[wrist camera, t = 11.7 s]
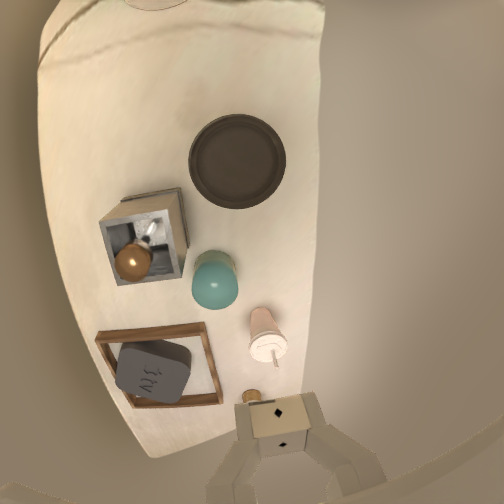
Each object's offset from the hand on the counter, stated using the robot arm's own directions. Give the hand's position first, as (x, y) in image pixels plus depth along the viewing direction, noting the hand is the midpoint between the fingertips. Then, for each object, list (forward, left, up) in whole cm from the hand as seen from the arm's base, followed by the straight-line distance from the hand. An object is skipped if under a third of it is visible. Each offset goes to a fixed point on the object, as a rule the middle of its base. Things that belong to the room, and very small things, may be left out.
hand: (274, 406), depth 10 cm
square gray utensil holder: (+3, -12, -38) cm, 40 cm away
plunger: (+3, -12, -36) cm, 38 cm away
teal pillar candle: (+13, -4, -38) cm, 41 cm away
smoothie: (+24, +3, -38) cm, 45 cm away
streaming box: (+33, -21, -39) cm, 55 cm away
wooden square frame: (+35, -19, -38) cm, 55 cm away
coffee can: (-6, +1, -38) cm, 39 cm away
